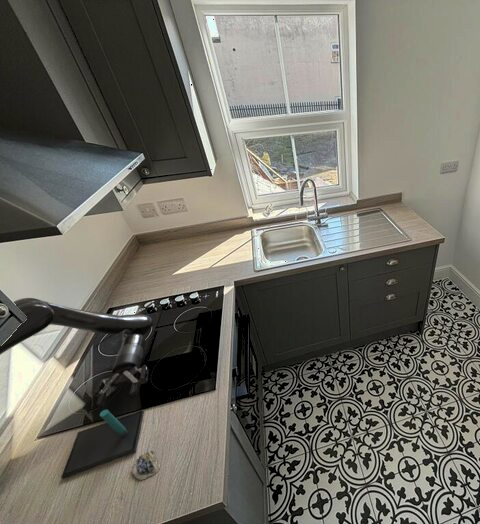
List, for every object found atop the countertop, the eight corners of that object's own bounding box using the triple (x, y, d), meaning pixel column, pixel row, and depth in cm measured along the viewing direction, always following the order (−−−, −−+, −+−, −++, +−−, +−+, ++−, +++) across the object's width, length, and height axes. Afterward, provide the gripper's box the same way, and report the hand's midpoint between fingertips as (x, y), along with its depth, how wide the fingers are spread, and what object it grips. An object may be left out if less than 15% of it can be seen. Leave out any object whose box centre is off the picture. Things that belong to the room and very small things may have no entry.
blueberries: (147, 448, 86) (144, 445, 85) (168, 457, 84) (165, 454, 83) (126, 474, 81) (123, 471, 80) (148, 484, 79) (145, 481, 78)
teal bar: (119, 437, 88) (98, 417, 82) (122, 431, 90) (101, 410, 83) (127, 435, 89) (106, 415, 82) (129, 429, 90) (109, 408, 84)
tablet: (63, 479, 81) (60, 477, 80) (79, 433, 91) (77, 432, 90) (136, 451, 86) (134, 450, 85) (144, 411, 96) (142, 409, 95)
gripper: (99, 360, 98) (82, 403, 86) (146, 346, 102) (137, 385, 89) (111, 373, 102) (96, 416, 90) (156, 359, 106) (148, 399, 94)
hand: (116, 400), depth 90 cm, fingers open, 8 cm apart
